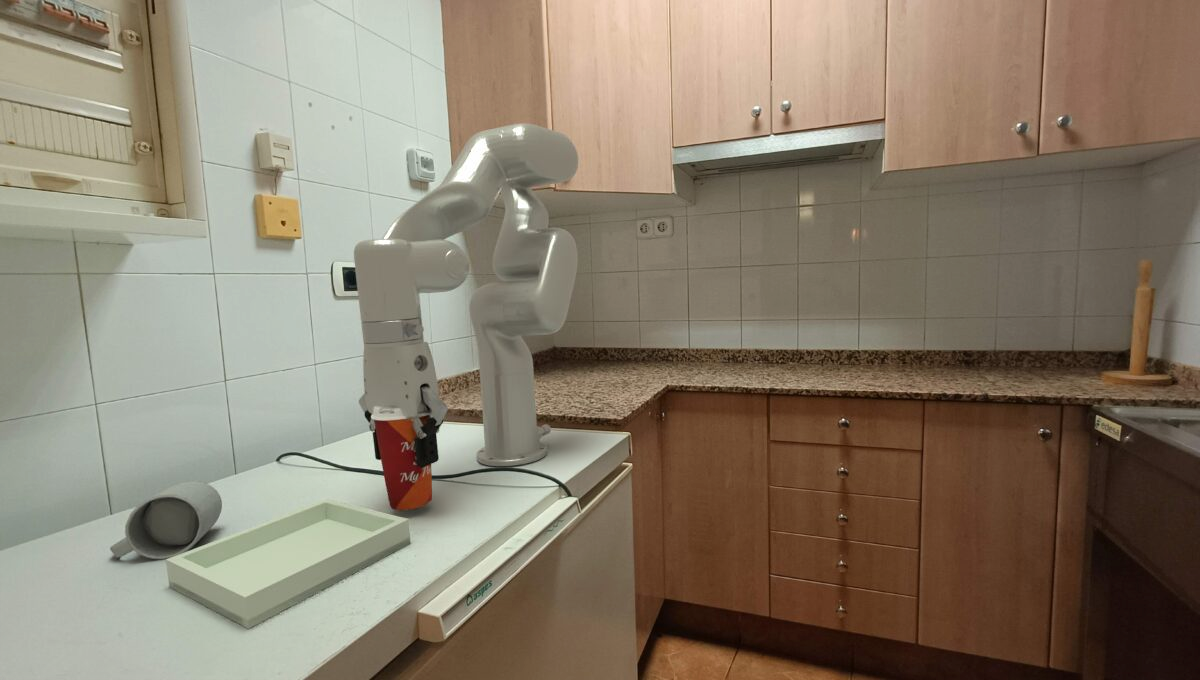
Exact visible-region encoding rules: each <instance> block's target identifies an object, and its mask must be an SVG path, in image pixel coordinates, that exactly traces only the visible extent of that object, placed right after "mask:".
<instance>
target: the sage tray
mask: <svg viewBox="0 0 1200 680" xmlns="http://www.w3.org/2000/svg"><path fill="white" fill-rule="evenodd" d="M411 543H412V541H411V532H410V520H409V519H408V518H405V517H401V516H398V515H394V514H389V513H386V512H382V511H378V510H375V509H370V508H367V507H362V506H359V505H354V504H351V503H347V502H343V501H338V500H335V499H331V498H326V499H323V500H320V501H318V502H315V503H313V504H310V505H306V506H305V507H302V508H299V509H296V510H295V511H294V510H293V511H292V512H289V513H286V514H283V515H281V516H280V515H279V516H278V517H275V518H273V519H271V520H268V521H265V522H262V523H259V524H257V525H254V526H251V527H249V528H246V529H244V530H241V531H239V532H235V533H232V534H231V535H226V536H225V537H222V538H220V539H217V540H214V541H212V542H209V543H205V544H204V545H203V544H202V545H201V546H198V547H195V548H193V549H191V550H190V549H189V550H188V551H187V552H185V553H182V554H179V555H177V556H174V557H171V558H168V559H165V561H166V569H167V576H168V577H167V578H168V586H169V588H171V589H173V590H174V591H177V592H178V593H180V594H182V595H184V596H186V597H188V598H190V599H191V600H194V601H195V602H197V603H199V604H200V605H203V606H205V607H207V608H208V609H210V610H212V611H214V612H216V613H217V614H219V615H222V616H224V617H225V618H227V619H229V620H231V621H233V622H235V623H236V624H239V625H241V626H242V627H244V628H245V629H247V630H249V629H251V628H254V627H255V626H257V625H259V624H261V623H263V622H265V621H267V620H268V619H270V618H272V617H274V616H275V615H278V614H280V613H282V612H283V611H285V610H287V609H289V608H291V607H293V606H294V605H297V604H298V603H301V602H302V601H304V600H306V599H309V598H310V597H312V596H314V595H315V594H317V593H319V592H321V591H324V590H326V589H328V588H329V587H331V586H333V585H334V584H335V585H336V583H338V582H340V581H342V580H344V579H346V578H348V577H350V576H352V575H353V574H356V573H357V572H359V571H361V570H363V569H366V568H367V567H369V566H370V565H372V564H374V563H376V562H379V561H380V560H382V559H384V558H386V557H388V556H389V555H391V554H394V553H395V552H397V551H399V550H401V549H403V548H406V547H407V546H408V545H410V544H411ZM393 552H394V553H393Z"/></svg>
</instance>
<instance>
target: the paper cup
mask: <svg viewBox="0 0 1200 680" xmlns="http://www.w3.org/2000/svg"><path fill="white" fill-rule="evenodd" d="M430 410H431V409H430ZM392 411H394V412H392ZM421 412H425V410H424V405H420V407H419V408H418V413H421ZM371 418H372V419H374V423H375V429H376V434H377V440H378V445H379V451H380V457H381V460H380V461H381V468H382V472H383V478H384V483H385V489H386V492H387V493H386V494H387V499H388V503H389V506H390V507H389V508H391V509H392V510H395V511H411V510H416V509H418V508H422V507H424V506H426V505H427V504H429V503H430V502H431V501H432V499H433V480H432V479H433V478H432V477H433V475H432V464H430V465H428V466H425V467H423V468H420V467H418V466H417V460H416V451H415V438H417V437H418V436H417V434H416V432H415V430H414V428H413V426H412V424H411V422H410V420H408V419H406V417H405V416H404V415H403V413H402V411H401V409H400V408H389V407H380V406H374V408H373V414H372V415H371ZM420 421H421V423H422V425H423V426H424V424H425V423H426V421H425V418H423V419H420Z"/></svg>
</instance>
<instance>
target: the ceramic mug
mask: <svg viewBox="0 0 1200 680" xmlns="http://www.w3.org/2000/svg"><path fill="white" fill-rule="evenodd" d="M222 510H223V501H222V497H221V495H220V493H219V492H218V490H216V489H215V488H214V487H213V486H212V485H210V484H208V483H206V482H202V481H185V482H180V483H177V484H174V485H172V486H170V487H168V488H166V489H164V490H162V491H160V492H159V493H156V494H155V495H152V496H150V497H148V498H147V499H145V500H143V501H142V502H141V503H139V504H138V505H137V506H136V507H135V508H134V509H133V510H132V511H131V513H130V514H129V516H128V518H127V520H126V523H125V531H124V533H125V534H124V535H125V537H124V538H122V539H121V540H119V541H117V542H115V543H114V544H113V545H111V546H110V547H109V550H110V551H111V552H112V554H113V555H114V557H115V558H118V559H119V558H122V557H123V556H125V555H127V554H129V553H132V552H133V551H134V552H136V553H137V554H139V555H140V556H142V557H144V558H148V559H153V560H166V559H169V558H171V557H174V556H177V555H179V554H182V553H185V552H187V551H190V549H192V548H193V547H194V546H195V545H196V544H197V543H198V541H200V540H201V539H202V538H203V537H204V536H206V534H207V533H208V532H209V531H210V530H211V529H212V527H214V525H215V524H216V523H217V522H218V520H219V517H220V515H221V513H222Z"/></svg>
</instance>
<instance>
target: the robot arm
mask: <svg viewBox="0 0 1200 680" xmlns="http://www.w3.org/2000/svg"><path fill="white" fill-rule="evenodd" d="M578 167H579V156H578V150H577V149H576V146H575V143H573V141H572V139H570V138H569V137H568V136H567V135H565V134H563V132H562V133H561V132H558V131H555V130H552V129H549V128H547V127H543V126H540V125H536V124H532V123H527V122H525V123H522V122H521V123H514V124H510V125H505V126H499V127H494V128H491V129H485V130H482V131H478V132H476V133H475V134H473V135H472V136H471V137H470V138H469V139H468V140H467V142H466V143H465V145H463V148H462V149H461V151H460V152H459V154H458V156H457V158H456V159H455V161H454V162H453V164H452V166H451V167H450V169H449V170H448V172H447V173H446V175H445V177H444V178H443V180H442V181H441V182H440V184H439V185H438V186H436V188H434V189H432V190H431V191H430V192H428V193H427V194H426V195H424V196H423V197H422V198H421V199H420V200H418V201H417V202H416V203H414V204H413V205H411V206H410V207H409V208H408V209H406V210H405V211H404V212H403V213H402V214H400V215H399V216H398V217H397V218H396V219H395V220H394V222H392V223H391V225H390V226H389V228H388V229H387V231H386V232H385V233H384V235H383V237H382V238H376V239H375V238H374V239H367V240H362V241H360V242H358V243H357V244H356V245H355V247H354V250H353V260H354V267H355V268H354V269H355V279H356V288H357V296H358V304H359V314H360V320H361V321H360V323H361V330H362V331H361V332H362V338H363V339H362V342H363V360H362V361H363V366H362V367H363V368H362V369H363V371H362V372H363V387H364V390H363V391H364V393H363V394H362V395H361V397H360V398H359V400H358V404H359V406H360V408H361V410H362V412H363V413H364V418H365V419H366V420H367V422H368V428H369V431H370V432H372V439H373V440H372V442H373V447H374V448H373V449H374V456H375V460H378V461H381V457H380V451H379V445H378V440H377V434H376V429H375V423H374V419H372V418H371V415H372V414H373V408H374V406H380V407H389V408H400V409H401V411H402V413H403V415H404V416H405V417H406V419H408V420H410V422H411V424H412V426H413V428H414V430H415V432H416V434H417V436H418V437H417V438H415V451H416V460H417V466H418V467H420V468H423V467H425V466H428V465H430V464H431V465H432V464H435V463H437V462H438V461H439V460H440V459H439V448H438V439H437V434H438V433H439V432H440V428H441V426H442V425H443V423H444V419H445V417H446V415H447V413H448V411H449V409H448V405H447V404H446V402H444V400H442V399H441V398H440V391H439V384H438V379H437V377H438V376H437V371H436V368H435V363H434V359H433V354H432V353H431V348H430V346H429V342H428V341H425V339H424V338H425V337H424V326H423V320H422V309H421V298H420V294H435V293H445V292H450V291H453V290H455V289H458V288H459V287H460V286H462V284H464V282H465V281H466V280H467V277H468V275H469V271H470V263H469V262H470V261H469V258H468V256H467V254H466V253H465V251H464V250H463V248H461V247H460V246H459V245H458V244H457V243H455V242H452V241H450V240H446V239H448V238H450V237H453V236H455V235H457V234H459V233H462V232H464V231H466V230H469V229H470V228H472V227H474V226H476V225H478V224H479V223H481V222H482V221H484V220H485V219H486V218H487V217H488V215H490V211H491V210H492V208H493V206H494V204H495V201H497V198H498V197H499V194H500V195H501V197H502V201H503V204H504V207H505V208H504V216H503V220H502V224H501V226H500V230H499V235H498V237H497V238H498V239H497V242H496V244H495V249H494V252H493V256H492V269H493V272H494V274H495V275H496V276H497V278H498V279H500V280H501V281H496V282H489V283H487V284H486V283H485V284H484V285H482V286H479V287H478V288H477V289H476V290H475V291H474V292H473V293H472V295H471V296H470V297H471V298H470V300H469V304H468V305H469V306H468V307H469V316H470V321H471V324H472V329H473V331H474V336H475V341H476V346H477V353H478V364H479V367H478V368H479V376H480V377H479V380H480V394H481V396H480V397H481V408H482V409H481V410H482V423H483V424H482V425H483V439H484V447H482V448H481V449H479V450H478V451H477V452H476V461H477V462H478V463H480V464H482V465H485V466H491V467H513V466H520V465H521V466H522V465H527V464H529V463H533V462H537V461H539V460H541V459H543V458H544V457H545V456H546V455H547V454H548V450H547V445H545V444H544V443H542V442H541V439H542V437H543V436H544V437H545V436H546V435H549V434H550V433H551V429H552V428H551V426H550V425H549V424H546V423H545V424H542V425H541V426H540V425H537V424H538V423H537V410H536V409H537V408H536V407H537V406H536V395H535V394H536V393H535V391H536V390H535V373H534V360H533V356H532V353H531V351H530V348H529V346H528V345H527V343H526V342H525V340H524V338H522V337H523V336H541V335H542V336H545V335H547V336H548V335H552V334H555V333H557V332H558V331H560V330H561V329H562V327H564V325H565V323H566V319H567V316H568V312H569V307H570V303H571V299H572V294H573V290H574V284H575V281H576V275H577V273H578V272H577V271H578V263H579V256H578V255H579V254H578V252H579V251H578V249H577V248H578V247H577V244H576V240H575V239H574V237H573V236H572V234H571V233H570V232H569V231H567V230H566V229H563V228H560V227H549V221H550V216H549V212H548V210H547V208H546V207H545V205H544V203H542V200H541V199H539V198H538V196H536V194H535V192H534V191H533V190H532V188H534V187H535V188H536V187H540V186H548V185H555V184H562V183H566V182H568V181H570V180H571V179H572V178H574V177H575V175H576V173H577V171H578ZM420 405H424V410H425V412H421V413H418V408H419V407H420ZM430 409H431V410H430ZM392 412H394V411H392ZM423 418H425V421H426V423H425V424H424V426H423V425H422V423H421V421H420V419H423Z"/></svg>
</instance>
